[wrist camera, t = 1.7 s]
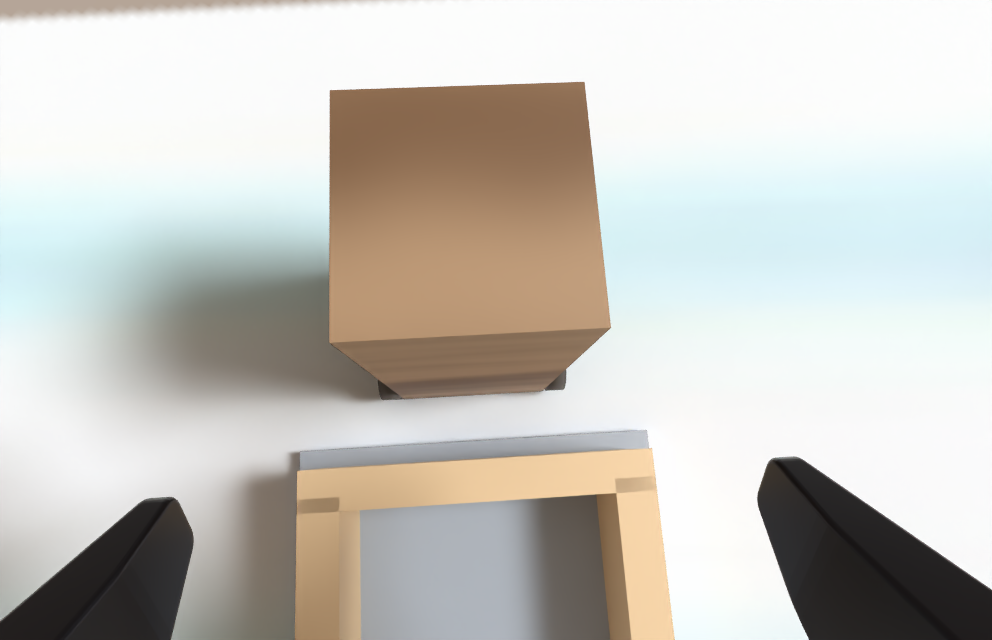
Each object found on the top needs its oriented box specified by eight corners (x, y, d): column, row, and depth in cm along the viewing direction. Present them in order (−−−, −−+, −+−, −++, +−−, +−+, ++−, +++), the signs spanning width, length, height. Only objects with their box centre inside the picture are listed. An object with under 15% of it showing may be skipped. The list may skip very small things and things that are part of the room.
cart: (558, 392, 21) (644, 331, 10) (387, 403, 21) (294, 350, 10) (547, 257, 22) (613, 76, 12) (385, 265, 22) (298, 86, 11)
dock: (681, 773, 18) (730, 849, 15) (301, 808, 18) (258, 895, 14) (642, 430, 21) (675, 425, 17) (305, 451, 20) (269, 451, 17)
